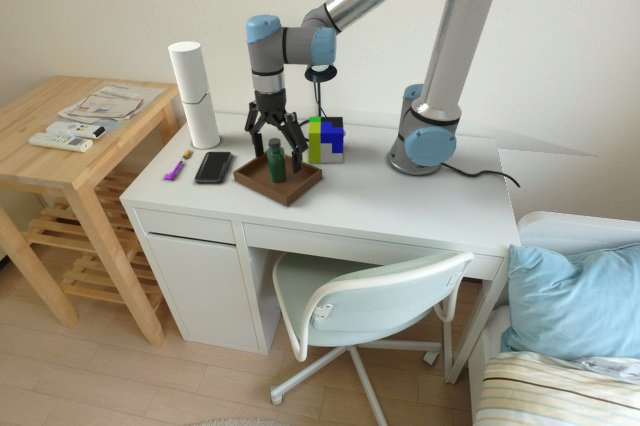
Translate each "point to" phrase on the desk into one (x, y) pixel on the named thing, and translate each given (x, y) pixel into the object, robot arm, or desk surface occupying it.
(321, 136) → the puzzle toy
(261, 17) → the robot arm
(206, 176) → the phone
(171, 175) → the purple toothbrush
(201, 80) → the container
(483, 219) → the desk surface
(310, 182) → the tray
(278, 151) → the spice bottle
